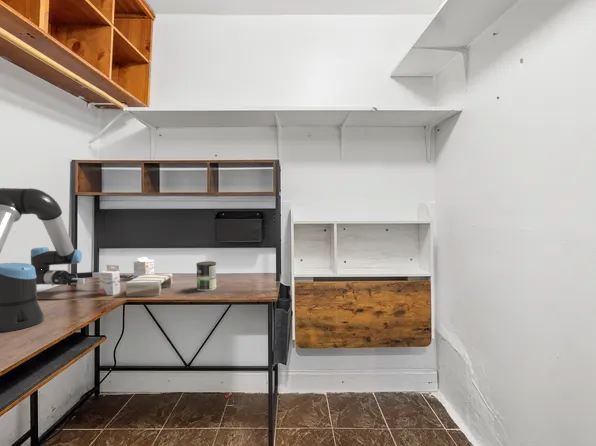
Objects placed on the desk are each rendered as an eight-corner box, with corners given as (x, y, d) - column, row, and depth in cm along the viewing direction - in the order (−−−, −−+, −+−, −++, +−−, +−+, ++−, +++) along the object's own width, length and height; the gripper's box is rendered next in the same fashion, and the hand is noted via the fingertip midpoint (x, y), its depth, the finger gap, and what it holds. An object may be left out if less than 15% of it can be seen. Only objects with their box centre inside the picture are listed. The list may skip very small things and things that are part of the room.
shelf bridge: (159, 295, 158) (158, 281, 158) (126, 296, 157) (125, 282, 157) (172, 285, 178) (172, 273, 178) (143, 286, 177) (143, 274, 177)
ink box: (145, 280, 192) (145, 258, 191) (133, 280, 193) (133, 258, 193) (154, 277, 200) (154, 256, 199) (143, 277, 202) (142, 256, 201)
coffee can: (199, 292, 164) (199, 265, 163) (194, 287, 173) (194, 262, 172) (219, 289, 170) (218, 263, 169) (213, 285, 178) (212, 260, 178)
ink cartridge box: (99, 294, 161) (98, 266, 161) (107, 292, 166) (106, 264, 165) (112, 295, 159) (111, 266, 158) (120, 293, 164) (119, 265, 163)
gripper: (76, 279, 178) (111, 279, 176) (35, 290, 154) (75, 291, 151) (76, 266, 178) (110, 266, 176) (34, 275, 153) (74, 276, 151)
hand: (94, 278), depth 163 cm, fingers open, 13 cm apart
